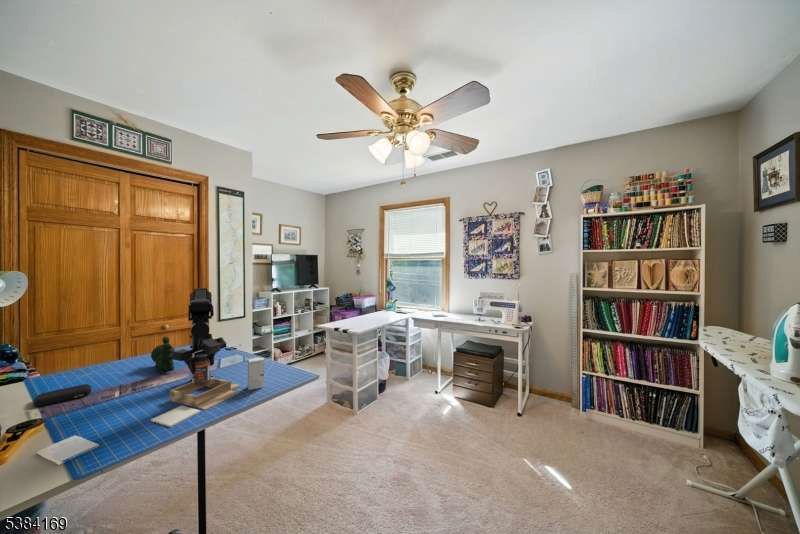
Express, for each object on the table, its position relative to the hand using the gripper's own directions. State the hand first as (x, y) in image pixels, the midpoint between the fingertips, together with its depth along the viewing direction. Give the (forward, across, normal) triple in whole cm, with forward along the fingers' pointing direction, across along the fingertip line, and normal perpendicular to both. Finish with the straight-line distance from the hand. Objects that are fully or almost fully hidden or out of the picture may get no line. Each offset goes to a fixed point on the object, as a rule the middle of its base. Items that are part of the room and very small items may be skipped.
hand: (201, 370), depth 118 cm
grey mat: (+10, -14, -7) cm, 19 cm away
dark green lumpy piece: (+11, +13, +44) cm, 47 cm away
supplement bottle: (+5, 0, 0) cm, 5 cm away
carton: (+10, +3, -2) cm, 11 cm away
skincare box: (+10, +14, -14) cm, 22 cm away
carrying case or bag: (+11, -21, +48) cm, 53 cm away
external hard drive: (+11, -37, +3) cm, 39 cm away
